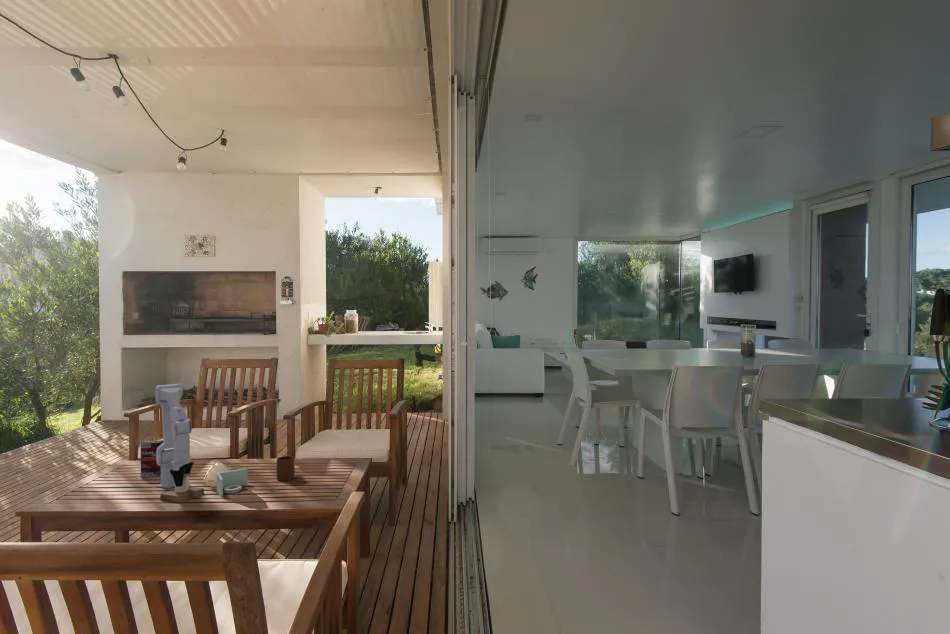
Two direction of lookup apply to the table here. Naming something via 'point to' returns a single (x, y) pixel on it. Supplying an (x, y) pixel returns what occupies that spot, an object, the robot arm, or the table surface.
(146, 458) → the supplement box
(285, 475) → the mug
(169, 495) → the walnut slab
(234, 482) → the l-shaped corner panel
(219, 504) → the table surface
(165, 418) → the robot arm
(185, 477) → the beige rectangular block
